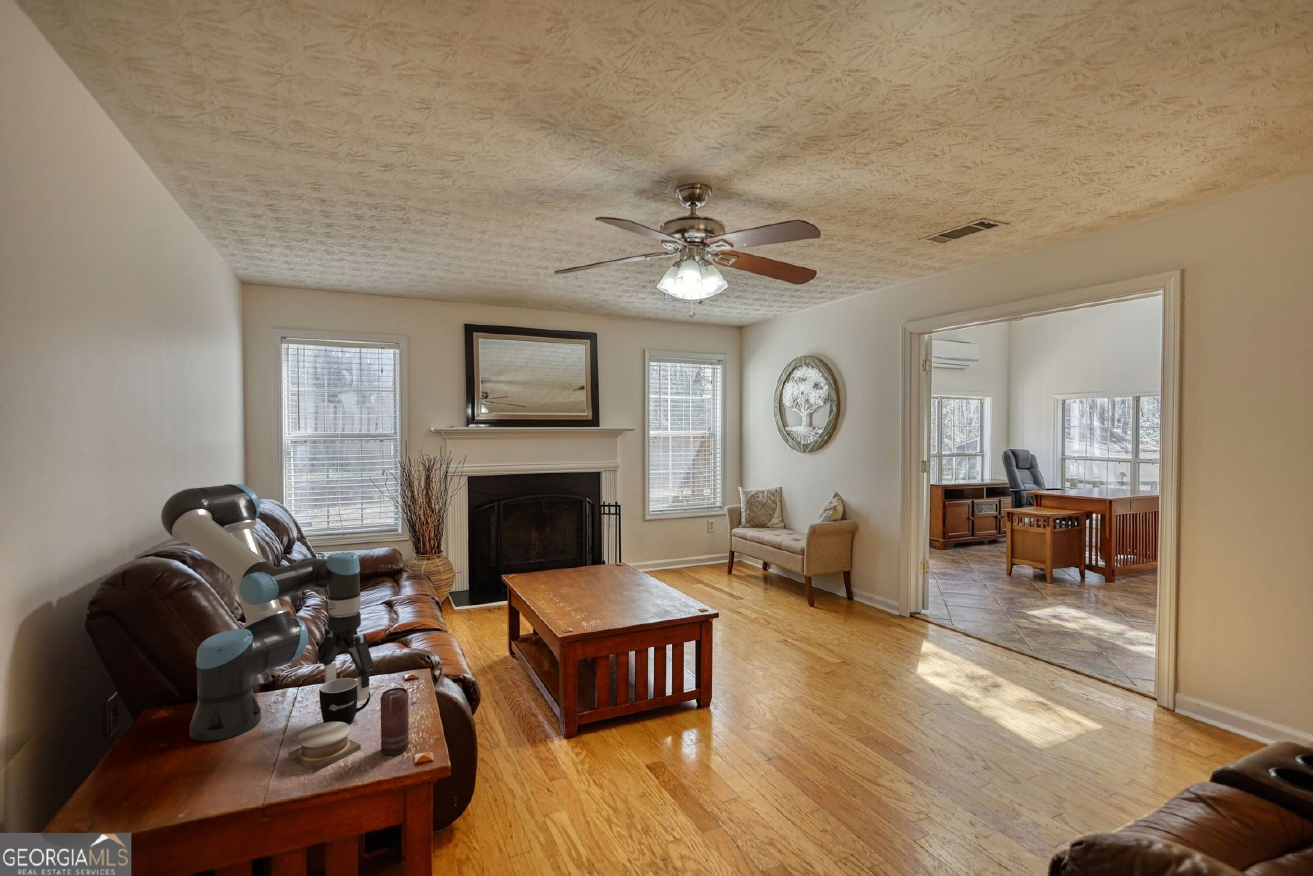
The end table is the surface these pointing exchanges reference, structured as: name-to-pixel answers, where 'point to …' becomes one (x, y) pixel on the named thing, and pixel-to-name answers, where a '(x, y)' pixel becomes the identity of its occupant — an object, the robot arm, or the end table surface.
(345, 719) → the mug
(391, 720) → the can
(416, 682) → the end table surface
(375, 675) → the end table surface
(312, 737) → the stand
